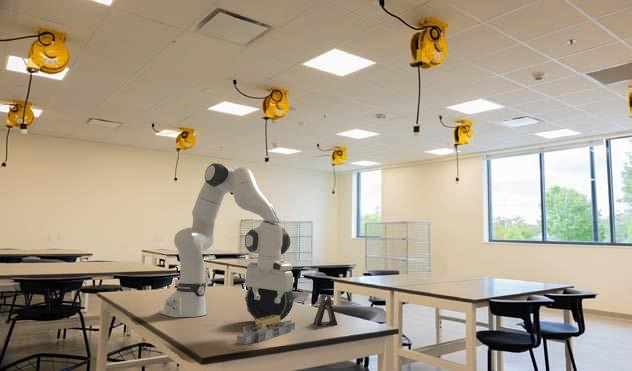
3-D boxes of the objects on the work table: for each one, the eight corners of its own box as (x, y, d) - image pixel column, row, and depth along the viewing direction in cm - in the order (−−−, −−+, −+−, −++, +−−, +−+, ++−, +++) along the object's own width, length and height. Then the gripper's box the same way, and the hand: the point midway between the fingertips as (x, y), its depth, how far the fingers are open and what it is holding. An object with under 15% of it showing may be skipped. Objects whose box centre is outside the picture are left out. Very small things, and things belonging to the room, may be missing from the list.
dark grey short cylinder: (288, 327, 171) (290, 276, 173) (241, 323, 175) (244, 274, 177) (295, 322, 181) (296, 274, 183) (250, 319, 185) (252, 272, 188)
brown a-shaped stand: (316, 325, 175) (317, 296, 176) (313, 322, 181) (314, 294, 182) (337, 325, 177) (338, 295, 178) (333, 322, 183) (334, 293, 184)
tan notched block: (261, 338, 151) (262, 320, 151) (255, 337, 152) (255, 319, 153) (279, 333, 160) (280, 315, 161) (273, 332, 161) (273, 314, 162)
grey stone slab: (249, 345, 141) (249, 332, 142) (233, 342, 145) (233, 329, 145) (297, 329, 167) (298, 318, 168) (283, 327, 171) (283, 316, 171)
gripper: (242, 261, 161) (240, 298, 160) (286, 266, 151) (284, 306, 149) (253, 261, 167) (250, 297, 165) (296, 265, 156) (294, 303, 155)
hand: (267, 301), depth 157 cm, fingers open, 8 cm apart
